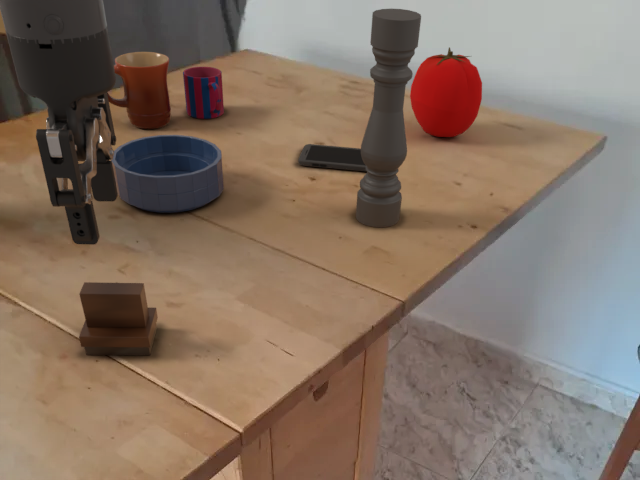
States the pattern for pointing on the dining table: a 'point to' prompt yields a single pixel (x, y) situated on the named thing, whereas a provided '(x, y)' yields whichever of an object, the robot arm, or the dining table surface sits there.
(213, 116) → the cup
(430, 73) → the tomato
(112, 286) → the brown wooden stepped block
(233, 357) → the dining table surface
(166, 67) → the mug
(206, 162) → the bowl
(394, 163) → the candle holder
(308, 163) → the cell phone
